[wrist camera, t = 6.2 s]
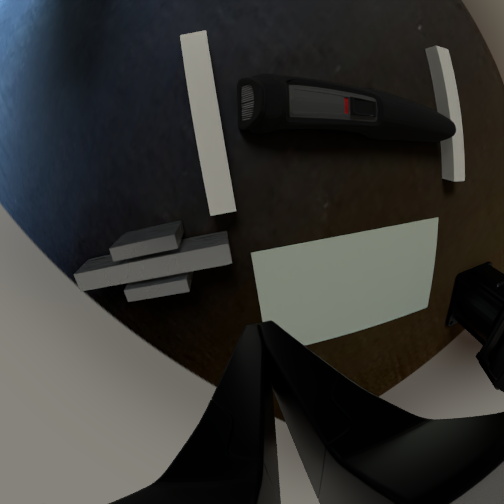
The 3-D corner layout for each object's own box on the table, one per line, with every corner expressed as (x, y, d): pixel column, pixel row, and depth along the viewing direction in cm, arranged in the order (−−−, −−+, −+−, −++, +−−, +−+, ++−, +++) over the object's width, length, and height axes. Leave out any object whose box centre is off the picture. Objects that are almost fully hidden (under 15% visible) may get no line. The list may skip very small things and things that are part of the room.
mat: (426, 306, 23) (427, 307, 23) (267, 352, 22) (268, 353, 22) (437, 217, 19) (438, 217, 19) (250, 252, 19) (251, 253, 18)
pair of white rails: (453, 177, 18) (464, 180, 17) (211, 210, 17) (210, 216, 16) (436, 52, 14) (448, 49, 13) (182, 43, 13) (180, 35, 12)
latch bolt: (230, 248, 18) (232, 263, 16) (94, 274, 17) (80, 291, 15) (226, 230, 17) (228, 243, 15) (88, 259, 17) (73, 274, 15)
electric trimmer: (431, 151, 18) (458, 155, 15) (237, 134, 16) (242, 131, 13) (430, 108, 16) (457, 106, 13) (236, 78, 15) (241, 63, 12)
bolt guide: (193, 269, 18) (189, 291, 16) (139, 280, 18) (128, 301, 15) (181, 220, 17) (174, 234, 14) (124, 233, 17) (109, 248, 14)
